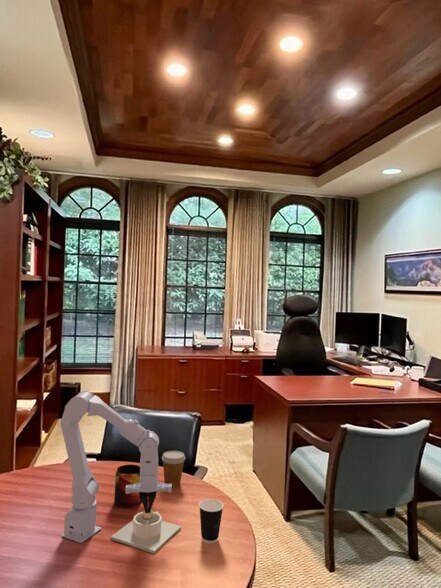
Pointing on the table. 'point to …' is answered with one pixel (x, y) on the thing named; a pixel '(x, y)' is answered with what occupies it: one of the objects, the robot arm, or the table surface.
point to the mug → (123, 478)
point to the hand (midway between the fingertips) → (148, 514)
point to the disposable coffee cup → (173, 467)
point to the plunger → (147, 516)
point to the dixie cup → (210, 519)
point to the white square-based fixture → (146, 533)
